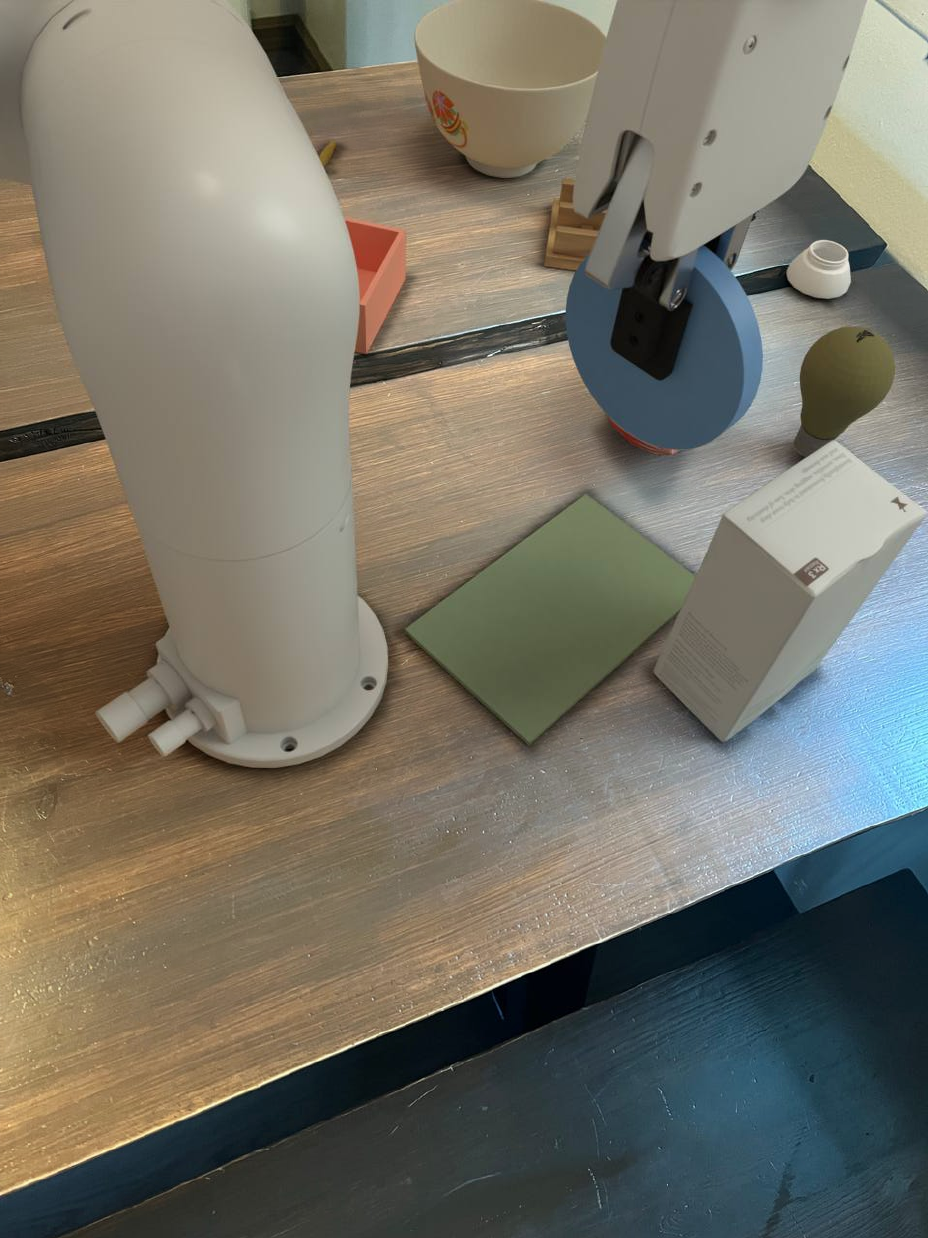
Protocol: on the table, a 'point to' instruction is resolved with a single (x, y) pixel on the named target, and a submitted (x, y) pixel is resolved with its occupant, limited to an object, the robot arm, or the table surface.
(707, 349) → the disc
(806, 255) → the white jar
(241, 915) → the table surface
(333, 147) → the dagger
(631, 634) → the mat
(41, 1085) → the table surface
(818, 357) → the light bulb
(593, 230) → the rack
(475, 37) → the bowl
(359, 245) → the red open box
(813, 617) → the cosmetic box
